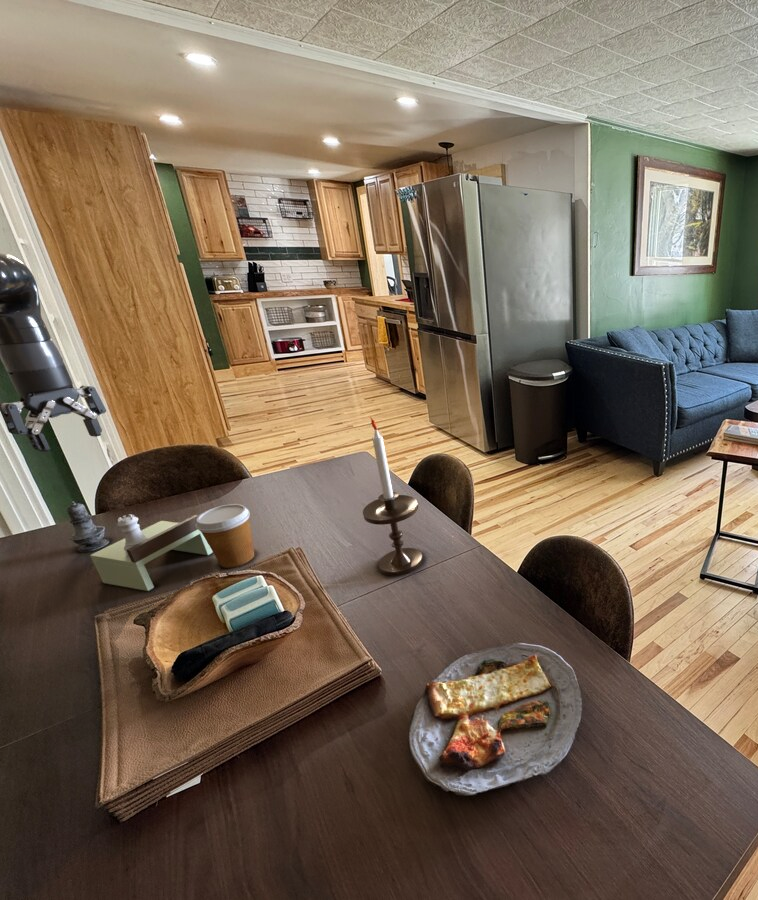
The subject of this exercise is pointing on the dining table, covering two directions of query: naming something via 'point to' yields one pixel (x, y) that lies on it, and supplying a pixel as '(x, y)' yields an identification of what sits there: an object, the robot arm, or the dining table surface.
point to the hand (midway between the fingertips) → (71, 443)
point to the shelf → (148, 552)
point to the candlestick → (392, 516)
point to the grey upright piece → (85, 529)
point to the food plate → (495, 718)
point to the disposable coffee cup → (228, 533)
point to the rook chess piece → (131, 531)
